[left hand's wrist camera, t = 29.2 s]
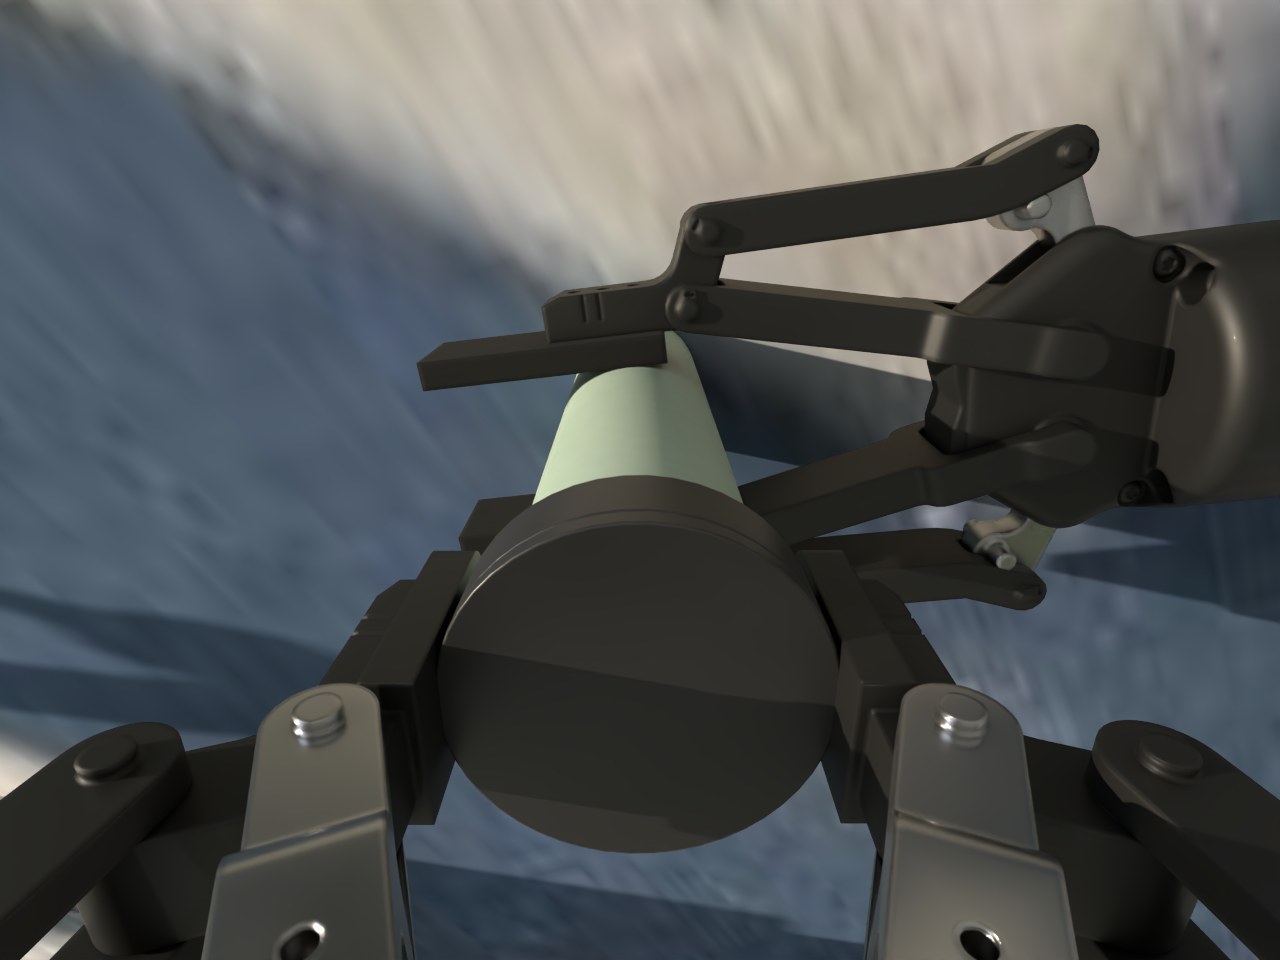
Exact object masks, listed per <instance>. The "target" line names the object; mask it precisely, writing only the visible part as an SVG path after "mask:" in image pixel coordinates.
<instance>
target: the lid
mask: <svg viewBox="0 0 1280 960" xmlns="http://www.w3.org/2000/svg"><path fill="white" fill-rule="evenodd" d="M838 677H839V658H838V653H837V649H836V645H835V643H834V640H833V638H832V635H831V632H830V630H829V627H828V625H827V623H826V620H825V618H824V616H823V614H822V612H821V609H820V607H819V605H818V602H817V600H816V598H815V596H814V593H813V591H812V589H811V587H810V584H809V582H808V580H807V578H806V575H805V573H804V571H803V569H802V567H801V565H800V563H799V562H798V560H797V558H796V556H795V555H794V553H793V551H792V550H791V548H790V547H789V546H788V545H787V543H786V542H785V541H784V539H783V538H782V537H781V536H780V534H779V533H778V532H777V531H776V530H775V529H774V528H773V527H772V526H771V525H769V524H768V523H767V522H766V521H765V520H764V519H763V518H762V517H761V516H759V515H758V514H757V513H755V512H754V511H752V510H751V509H750V508H748V507H747V506H745V505H744V504H743V503H741V502H739V501H737V500H735V499H733V498H731V497H729V496H727V495H726V494H724V493H722V492H719V491H717V490H714V489H711V488H709V487H706V486H703V485H701V484H698V483H694V482H689V481H685V480H681V479H677V478H671V477H662V476H653V475H622V476H615V477H607V478H600V479H595V480H591V481H588V482H584V483H580V484H576V485H573V486H571V487H568V488H566V489H563V490H561V491H558V492H556V493H553V494H551V495H549V496H547V497H546V498H544V499H542V500H540V501H538V502H537V503H535V504H533V505H531V506H530V507H528V508H527V509H526V510H524V511H523V512H522V513H520V514H519V515H518V516H517V517H515V518H514V519H513V520H511V521H510V522H509V523H508V524H507V525H506V526H505V527H504V528H503V529H502V530H501V531H500V532H499V533H498V534H497V535H496V536H495V538H494V539H493V540H492V542H491V543H490V544H489V546H488V547H487V548H486V550H485V551H484V552H483V554H482V556H481V558H480V559H479V561H478V563H477V565H476V567H475V569H474V571H473V573H472V575H471V577H470V579H469V582H468V584H467V586H466V588H465V591H464V593H463V595H462V597H461V600H460V602H459V604H458V606H457V609H456V611H455V613H454V615H453V618H452V620H451V622H450V624H449V627H448V629H447V631H446V634H445V637H444V640H443V643H442V646H441V648H440V651H439V656H438V662H437V681H438V689H439V697H440V704H441V712H442V720H443V727H444V734H445V740H446V742H447V744H448V746H449V748H450V750H451V753H452V755H453V757H454V759H455V760H456V762H457V763H458V765H459V766H460V768H461V769H462V771H463V772H464V774H465V775H466V776H467V778H468V779H469V780H470V781H471V782H472V783H473V784H474V786H475V787H476V788H477V789H478V790H479V791H480V792H481V793H482V794H483V795H484V796H485V797H486V798H487V799H489V800H490V801H491V802H492V803H493V804H494V805H495V806H497V807H498V808H499V809H500V810H502V811H503V812H505V813H506V814H508V815H509V816H511V817H512V818H514V819H515V820H516V821H518V822H520V823H522V824H524V825H526V826H528V827H529V828H531V829H533V830H535V831H537V832H539V833H542V834H544V835H547V836H549V837H552V838H554V839H557V840H559V841H563V842H566V843H570V844H573V845H577V846H580V847H584V848H590V849H595V850H601V851H607V852H619V853H658V852H668V851H677V850H682V849H687V848H691V847H696V846H701V845H704V844H707V843H710V842H713V841H717V840H720V839H723V838H725V837H727V836H730V835H732V834H734V833H737V832H739V831H741V830H744V829H745V828H747V827H749V826H751V825H753V824H754V823H756V822H758V821H760V820H761V819H763V818H765V817H766V816H768V815H769V814H770V813H772V812H773V811H774V810H776V809H777V808H779V807H780V806H781V805H783V804H784V803H785V802H786V801H787V800H788V799H789V798H790V797H791V796H792V795H793V794H795V793H796V792H797V791H798V790H799V789H800V788H801V786H802V785H803V784H804V783H805V782H806V780H807V779H808V778H809V777H810V776H811V774H812V773H813V772H814V770H815V769H816V767H817V765H818V764H819V762H820V761H821V759H822V758H823V756H824V754H825V752H826V750H827V748H828V745H829V743H830V739H831V732H832V724H833V716H834V708H835V700H836V693H837V685H838Z"/></svg>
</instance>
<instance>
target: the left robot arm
mask: <svg viewBox="0 0 1280 960" xmlns="http://www.w3.org/2000/svg"><path fill="white" fill-rule="evenodd" d="M480 558H481V555H480V553H479V552H478V551H433V552H432V553H431V555H430V557H429V558H428V560H427V562H426V563H425V565H424V567H423V569H422V570H421V572H420V574H419V575H418V577H417V579H416V580H399V581H398V582H397V583H395V584H394V585H392V586H391V587H389V588H388V589H387V590H385V591H384V592H382V593H381V594H380V595H378V596H377V597H376V599H375V600H374V602H373V603H372V605H371V606H370V608H369V609H368V611H367V612H366V614H365V615H364V616H365V618H364V619H362V620H361V622H360V623H359V625H358V626H357V628H356V629H355V631H354V636H351V637H350V638H349V640H348V641H347V643H346V644H345V646H344V647H343V649H342V651H341V652H340V654H339V655H338V657H337V658H336V660H335V661H334V663H333V664H332V666H331V667H330V669H329V670H328V672H327V673H326V675H325V676H324V678H323V680H322V681H321V683H320V684H319V686H316V687H312V688H309V689H307V690H304V691H301V692H299V693H297V694H295V695H293V696H291V697H289V698H287V699H286V700H284V701H282V702H281V703H280V704H278V705H277V706H276V707H274V708H273V709H272V710H271V711H270V712H269V713H268V714H267V715H266V717H265V718H264V719H263V720H262V722H261V724H260V726H259V729H258V732H257V734H256V735H253V736H250V737H247V738H244V739H240V740H236V741H231V742H227V743H222V744H218V745H213V746H209V747H204V748H200V749H195V750H190V751H186V752H185V749H184V746H183V743H182V740H181V737H180V735H179V733H178V731H177V730H175V729H174V728H173V727H171V726H169V725H166V724H162V723H155V722H142V723H134V724H128V725H124V726H120V727H116V728H113V729H110V730H107V731H104V732H101V733H99V734H96V735H94V736H92V737H90V738H88V739H86V740H83V741H81V742H80V743H78V744H76V745H75V746H73V747H71V748H70V749H68V750H67V751H65V752H64V753H62V754H61V755H59V756H58V757H57V758H55V759H54V760H53V761H51V762H50V763H49V764H48V765H46V766H45V767H44V768H42V769H41V770H40V771H38V772H37V773H36V774H34V775H33V776H32V777H30V778H29V779H28V780H26V781H25V782H24V783H22V784H21V785H20V786H18V787H17V788H16V789H15V790H13V791H12V792H11V793H9V794H8V795H7V796H5V797H4V798H3V799H1V800H0V960H20V959H21V958H22V957H23V956H24V955H25V954H26V953H27V952H28V951H30V950H31V949H32V948H33V947H34V946H35V945H36V944H37V943H38V942H39V941H40V940H41V939H42V938H43V937H44V936H45V935H46V934H47V933H48V932H49V931H50V930H51V929H52V928H53V927H54V926H55V925H56V924H57V923H58V922H59V921H60V920H61V919H62V918H63V917H64V916H65V915H66V914H67V913H68V912H69V911H70V910H71V909H72V908H73V907H74V906H75V905H76V906H77V908H78V910H79V913H80V915H81V917H82V920H83V922H84V925H83V926H82V927H81V928H80V929H79V930H78V931H77V932H76V933H75V934H74V935H73V936H72V937H71V938H70V939H69V940H68V941H67V942H66V943H65V944H64V945H63V946H62V947H61V949H60V950H59V951H58V952H57V953H56V954H55V955H54V956H53V957H52V958H51V959H50V960H417V954H416V945H415V936H414V927H413V918H412V909H411V900H410V891H409V882H408V873H407V864H406V858H405V852H404V846H403V840H402V839H403V837H404V834H405V831H406V828H407V826H408V825H434V824H435V821H436V818H437V815H438V812H439V809H440V806H441V803H442V800H443V796H444V793H445V790H446V787H447V784H448V781H449V778H450V775H451V772H452V769H453V766H454V763H455V759H454V757H453V755H452V753H451V750H450V748H449V746H448V744H447V742H446V740H445V734H444V727H443V720H442V712H441V704H440V697H439V689H438V681H437V662H438V656H439V651H440V648H441V646H442V643H443V640H444V637H445V634H446V631H447V629H448V627H449V624H450V622H451V620H452V618H453V615H454V613H455V611H456V609H457V606H458V604H459V602H460V600H461V597H462V595H463V593H464V591H465V588H466V586H467V584H468V582H469V579H470V577H471V575H472V573H473V571H474V569H475V567H476V565H477V563H478V561H479V559H480ZM796 558H797V560H798V562H799V563H800V565H801V567H802V569H803V571H804V573H805V575H806V578H807V580H808V582H809V584H810V587H811V589H812V591H813V593H814V596H815V598H816V600H817V602H818V605H819V607H820V609H821V612H822V614H823V616H824V618H825V620H826V623H827V625H828V627H829V630H830V632H831V635H832V638H833V640H834V643H835V645H836V649H837V653H838V658H839V677H838V685H837V693H836V700H835V708H834V716H833V724H832V732H831V739H830V743H829V745H828V748H827V750H826V752H825V754H824V756H823V758H822V759H821V763H822V766H823V769H824V772H825V775H826V778H827V781H828V784H829V788H830V791H831V794H832V797H833V800H834V803H835V806H836V810H837V813H838V816H839V819H840V822H841V823H867V825H868V827H869V830H870V833H871V836H872V839H873V841H874V844H875V847H876V852H875V857H874V863H873V873H872V882H871V891H870V900H869V909H868V918H867V927H866V936H865V945H864V954H863V960H1230V959H1229V958H1228V957H1227V956H1226V955H1225V954H1224V953H1223V952H1222V951H1221V950H1220V949H1219V948H1218V946H1217V945H1216V944H1215V943H1214V942H1213V941H1212V940H1211V939H1210V938H1209V937H1208V936H1207V935H1206V934H1205V933H1204V932H1203V931H1202V930H1201V929H1200V928H1199V927H1198V926H1197V925H1196V924H1195V923H1194V922H1193V921H1192V920H1191V919H1190V917H1191V915H1192V912H1193V910H1194V908H1195V905H1196V903H1197V900H1198V899H1199V900H1200V901H1201V902H1202V903H1203V904H1204V905H1205V906H1206V907H1207V908H1208V909H1209V910H1210V911H1211V912H1212V913H1213V914H1214V915H1215V916H1216V917H1217V918H1218V919H1219V920H1220V921H1221V922H1222V923H1223V924H1224V925H1225V926H1226V927H1227V928H1228V929H1229V930H1230V931H1231V932H1232V933H1233V934H1234V935H1235V936H1236V937H1237V938H1238V939H1239V940H1240V941H1241V942H1242V943H1243V944H1244V945H1245V946H1246V947H1247V948H1248V949H1249V950H1250V951H1251V952H1253V953H1254V954H1255V955H1256V956H1257V957H1258V958H1259V959H1260V960H1280V800H1279V799H1277V798H1276V797H1275V796H1273V795H1272V794H1271V793H1269V792H1268V791H1267V790H1265V789H1264V788H1263V787H1262V786H1260V785H1259V784H1258V783H1256V782H1255V781H1254V780H1252V779H1251V778H1250V777H1248V776H1247V775H1246V774H1244V773H1243V772H1242V771H1240V770H1239V769H1238V768H1236V767H1235V766H1234V765H1232V764H1231V763H1230V762H1229V761H1227V760H1226V759H1225V758H1223V757H1222V756H1221V755H1219V754H1218V753H1217V752H1215V751H1214V750H1212V749H1211V748H1209V747H1208V746H1206V745H1205V744H1203V743H1201V742H1199V741H1198V740H1196V739H1194V738H1192V737H1190V736H1188V735H1186V734H1184V733H1181V732H1179V731H1176V730H1174V729H1171V728H1168V727H1165V726H1162V725H1158V724H1154V723H1150V722H1144V721H1137V720H1121V721H1115V722H1111V723H1108V724H1106V725H1104V726H1103V727H1102V728H1101V729H1100V730H1099V731H1098V733H1097V736H1096V739H1095V742H1094V745H1093V749H1092V751H1090V750H1085V749H1081V748H1076V747H1072V746H1067V745H1063V744H1058V743H1054V742H1049V741H1044V740H1040V739H1036V738H1032V737H1028V736H1025V735H1023V732H1022V729H1021V726H1020V724H1019V722H1018V721H1017V719H1016V718H1015V717H1014V715H1013V714H1012V713H1011V712H1010V711H1009V710H1008V709H1007V708H1006V707H1004V706H1003V705H1002V704H1000V703H999V702H998V701H996V700H994V699H993V698H991V697H989V696H987V695H985V694H983V693H981V692H979V691H976V690H973V689H971V688H968V687H964V686H960V685H956V683H955V682H954V680H953V679H952V677H951V676H950V674H949V672H948V671H947V669H946V668H945V666H944V665H943V663H942V662H941V660H940V659H939V657H938V655H937V654H936V652H935V651H934V649H933V648H932V646H931V645H930V643H929V642H928V640H927V638H926V637H925V635H922V634H921V629H920V628H919V626H918V624H917V623H916V621H915V620H914V618H911V614H910V612H909V611H908V609H907V607H906V606H905V604H904V603H903V601H902V600H901V598H900V597H899V595H897V594H896V593H895V592H893V591H892V590H890V589H889V588H888V587H886V586H885V585H883V584H882V583H881V582H879V581H878V580H876V579H859V577H858V575H857V573H856V572H855V570H854V568H853V566H852V565H851V563H850V561H849V559H848V558H847V556H846V554H845V553H844V551H842V550H798V551H797V553H796Z"/></svg>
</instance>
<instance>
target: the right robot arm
mask: <svg viewBox="0 0 1280 960" xmlns="http://www.w3.org/2000/svg"><path fill="white" fill-rule="evenodd" d="M1098 153H1099V139H1098V137H1097V135H1096V133H1095V131H1094V130H1093V129H1091V128H1090V127H1088V126H1087V125H1080V124H1074V125H1068V126H1062V127H1055V128H1049V129H1043V130H1036V131H1030V132H1024V133H1021V134H1018V135H1015V136H1013V137H1011V138H1009V139H1007V140H1005V141H1004V142H1002V143H1000V144H998V145H996V146H994V147H992V148H990V149H988V150H986V151H985V152H983V153H981V154H979V155H977V156H975V157H973V158H971V159H969V160H967V161H966V162H964V163H962V164H960V165H958V166H956V167H953V168H946V169H939V170H932V171H925V172H918V173H911V174H904V175H897V176H890V177H883V178H876V179H869V180H862V181H855V182H849V183H842V184H835V185H828V186H821V187H814V188H807V189H800V190H793V191H786V192H779V193H772V194H765V195H758V196H751V197H744V198H737V199H730V200H723V201H716V202H709V203H702V204H697V205H695V206H692V207H690V208H689V209H688V210H687V211H686V212H685V213H684V215H683V217H682V219H681V221H680V229H679V233H678V237H677V242H676V246H675V250H674V254H673V258H672V260H671V263H670V265H669V267H668V268H667V270H666V271H665V272H664V273H663V274H662V275H660V276H659V277H657V278H655V279H651V280H647V281H639V282H631V283H622V284H614V285H606V286H597V287H589V288H581V289H572V290H565V291H563V292H561V293H559V294H557V295H556V296H554V297H552V298H550V299H549V300H548V301H547V302H546V303H545V304H544V305H543V306H542V307H541V308H542V314H543V320H544V326H545V331H541V332H532V333H524V334H515V335H507V336H498V337H490V338H481V339H473V340H464V341H456V342H447V343H443V344H442V345H440V346H439V347H438V348H436V349H435V350H434V351H432V352H431V353H430V354H428V355H427V356H426V357H424V358H423V359H422V360H420V361H419V362H418V363H417V367H418V371H419V376H420V380H421V384H422V388H423V391H430V390H439V389H447V388H456V387H465V386H474V385H482V384H491V383H500V382H509V381H517V380H526V379H535V378H544V377H552V376H561V375H570V374H579V373H588V372H596V371H605V370H614V369H622V368H629V367H640V366H649V365H658V364H666V363H668V361H667V351H666V341H665V333H664V332H667V331H675V330H680V331H683V332H686V333H696V334H705V335H714V336H723V337H733V338H742V339H751V340H760V341H769V342H779V343H788V344H797V345H806V346H816V347H825V348H834V349H843V350H853V351H862V352H871V353H880V354H890V355H899V356H908V357H916V358H922V359H926V360H927V365H928V369H929V373H930V377H931V381H932V385H933V390H932V393H931V396H930V400H929V403H928V406H927V409H926V412H925V420H924V421H921V422H918V423H915V424H911V425H908V426H905V427H902V428H899V429H897V430H895V431H894V432H892V433H891V435H890V436H889V437H888V438H887V439H885V440H882V441H879V442H876V443H873V444H870V445H867V446H864V447H860V448H857V449H854V450H851V451H848V452H845V453H842V454H839V455H835V456H832V457H829V458H826V459H823V460H820V461H817V462H813V463H810V464H807V465H804V466H801V467H798V468H795V469H791V470H788V471H785V472H782V473H779V474H776V475H773V476H769V477H766V478H763V479H760V480H757V481H754V482H751V483H747V484H744V485H741V486H738V490H739V493H740V496H741V498H742V501H743V504H744V505H745V506H747V507H748V508H750V509H751V510H752V511H754V512H755V513H757V514H758V515H759V516H761V517H762V518H763V519H764V520H765V521H766V522H767V523H768V524H769V525H771V526H772V527H773V528H774V529H775V530H776V531H777V532H778V533H779V534H780V536H781V537H782V538H783V539H784V541H785V542H786V543H787V545H788V546H789V547H790V548H791V550H792V551H793V553H794V555H795V556H796V553H797V551H798V550H842V551H844V553H845V554H846V556H847V558H848V559H849V561H850V563H851V565H852V566H853V568H854V570H855V572H856V573H857V575H858V577H859V579H876V580H878V581H879V582H881V583H882V584H883V585H885V586H886V587H888V588H889V589H890V590H892V591H893V592H895V593H896V594H897V595H899V597H900V598H901V600H902V601H903V603H913V602H925V601H937V600H949V599H962V598H968V599H972V600H976V601H981V602H985V603H989V604H994V605H998V606H1002V607H1007V608H1011V609H1015V610H1028V609H1032V608H1034V607H1035V606H1037V605H1038V604H1040V603H1041V601H1042V600H1043V599H1044V598H1045V595H1046V592H1047V590H1046V584H1045V583H1044V582H1043V580H1042V579H1041V578H1040V577H1039V576H1038V575H1037V574H1036V573H1035V572H1034V570H1035V568H1036V567H1037V565H1038V563H1039V561H1040V559H1041V557H1042V555H1043V553H1044V552H1045V550H1046V548H1047V546H1048V544H1049V542H1050V540H1051V538H1052V537H1053V535H1054V533H1055V531H1056V529H1057V528H1066V527H1071V526H1075V525H1078V524H1080V523H1082V522H1084V521H1086V520H1087V519H1089V518H1091V517H1093V516H1095V515H1097V514H1099V513H1101V512H1103V511H1106V510H1109V509H1112V508H1116V507H1182V506H1192V505H1202V504H1212V503H1222V502H1231V501H1241V500H1251V499H1261V498H1271V497H1280V220H1272V221H1264V222H1255V223H1247V224H1239V225H1230V226H1222V227H1214V228H1205V229H1197V230H1189V231H1180V232H1172V233H1163V234H1155V235H1147V236H1138V237H1133V236H1130V235H1128V234H1126V233H1124V232H1122V231H1120V230H1118V229H1116V228H1113V227H1110V226H1104V225H1095V222H1094V218H1093V214H1092V211H1091V207H1090V203H1089V199H1088V195H1087V192H1086V188H1085V184H1084V180H1083V176H1082V175H1084V174H1085V173H1086V172H1088V171H1089V170H1090V168H1091V167H1092V166H1093V164H1094V163H1095V161H1096V159H1097V156H1098ZM983 218H986V219H987V221H988V223H990V224H991V225H992V226H993V227H995V228H997V229H1005V230H1015V231H1024V230H1029V229H1031V230H1032V231H1033V232H1034V233H1035V234H1036V236H1037V238H1038V240H1037V241H1035V242H1034V243H1033V244H1032V245H1030V246H1029V247H1028V248H1027V249H1025V250H1024V251H1023V252H1022V253H1021V254H1019V255H1018V256H1017V257H1016V258H1014V259H1013V260H1012V261H1011V262H1009V263H1008V264H1007V265H1006V266H1004V267H1003V268H1002V269H1001V270H1000V271H998V272H997V273H996V274H995V275H993V276H992V277H991V278H990V279H988V280H987V281H986V282H985V283H983V284H982V285H981V286H980V287H979V288H977V289H976V290H975V291H974V292H972V293H971V294H970V295H969V296H967V297H966V298H965V299H964V300H962V301H961V302H960V303H955V302H946V301H937V300H928V299H919V298H909V297H903V298H894V297H885V296H876V295H867V294H858V293H849V292H840V291H831V290H822V289H813V288H804V287H795V286H786V285H777V284H768V283H759V282H750V281H741V280H732V279H723V278H719V275H720V272H721V268H722V264H723V261H724V257H725V255H729V254H736V253H743V252H751V251H758V250H765V249H772V248H779V247H787V246H794V245H801V244H808V243H815V242H822V241H830V240H837V239H844V238H851V237H858V236H866V235H873V234H880V233H887V232H894V231H902V230H909V229H916V228H923V227H930V226H938V225H945V224H952V223H959V222H966V221H973V220H978V219H983ZM535 495H536V494H530V495H520V496H511V497H501V498H492V499H483V500H479V501H478V503H477V504H476V506H475V508H474V510H473V512H472V514H471V516H470V518H469V519H468V521H467V523H466V525H465V527H464V529H463V531H462V532H461V534H460V536H459V542H460V546H461V550H462V551H478V552H479V553H480V555H481V556H482V554H483V552H484V551H485V550H486V548H487V547H488V546H489V544H490V543H491V542H492V540H493V539H494V538H495V536H496V535H497V534H498V533H499V532H500V531H501V530H502V529H503V528H504V527H505V526H506V525H507V524H508V523H509V522H510V521H511V520H513V519H514V518H515V517H517V516H518V515H519V514H520V513H522V512H523V511H524V510H526V509H527V508H528V507H530V506H531V505H532V504H533V501H534V498H535ZM983 495H989V496H991V497H992V498H994V499H996V500H998V501H999V502H1001V503H1003V504H1005V505H1006V506H1008V507H1010V508H1012V509H1011V511H1010V512H1009V513H1008V514H1007V515H1006V516H1004V517H1002V518H1000V519H998V520H994V521H980V522H979V521H978V520H970V521H968V522H967V523H966V524H965V525H964V527H963V531H959V530H954V529H945V528H922V529H910V530H898V531H887V532H875V533H864V534H852V535H841V536H829V537H818V538H814V537H817V536H821V535H824V534H827V533H830V532H834V531H837V530H840V529H844V528H847V527H850V526H853V525H857V524H860V523H863V522H867V521H870V520H873V519H876V518H880V517H883V516H886V515H890V514H893V513H896V512H899V511H903V510H906V509H909V508H913V507H916V506H920V505H931V506H936V507H945V506H950V505H954V504H957V503H960V502H964V501H967V500H970V499H974V498H977V497H980V496H983Z"/></svg>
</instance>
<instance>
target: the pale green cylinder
mask: <svg viewBox="0 0 1280 960" xmlns="http://www.w3.org/2000/svg"><path fill="white" fill-rule="evenodd" d="M664 333H665V341H666V351H667V361H668V363H666V364H658V365H649V366H640V367H629V368H622V369H614V370H605V371H596V372H588V373H579V374H577V376H576V379H575V382H574V384H573V387H572V390H571V393H570V396H569V399H568V402H567V405H566V408H565V411H564V414H563V417H562V419H561V422H560V425H559V428H558V431H557V434H556V437H555V440H554V443H553V446H552V449H551V452H550V454H549V457H548V460H547V463H546V466H545V469H544V472H543V475H542V478H541V481H540V484H539V487H538V490H537V492H536V495H535V498H534V501H533V504H535V503H537V502H538V501H540V500H542V499H544V498H546V497H547V496H549V495H551V494H553V493H556V492H558V491H561V490H563V489H566V488H568V487H571V486H573V485H576V484H580V483H584V482H588V481H591V480H595V479H600V478H607V477H615V476H622V475H653V476H662V477H671V478H677V479H681V480H685V481H689V482H694V483H698V484H701V485H703V486H706V487H709V488H711V489H714V490H717V491H719V492H722V493H724V494H726V495H727V496H729V497H731V498H733V499H735V500H737V501H739V502H741V503H743V501H742V498H741V496H740V493H739V490H738V487H737V484H736V481H735V478H734V476H733V473H732V470H731V467H730V464H729V461H728V458H727V456H726V453H725V450H724V447H723V444H722V441H721V438H720V436H719V433H718V430H717V427H716V424H715V421H714V418H713V415H712V413H711V410H710V407H709V404H708V401H707V398H706V395H705V393H704V390H703V387H702V384H701V381H700V378H699V375H698V373H697V370H696V367H695V364H694V361H693V358H692V355H691V353H690V351H689V349H688V347H687V346H686V344H685V343H684V342H683V340H682V339H681V338H680V337H679V336H678V335H677V334H676V333H675V332H674V331H667V332H664ZM533 504H532V505H533Z"/></svg>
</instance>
